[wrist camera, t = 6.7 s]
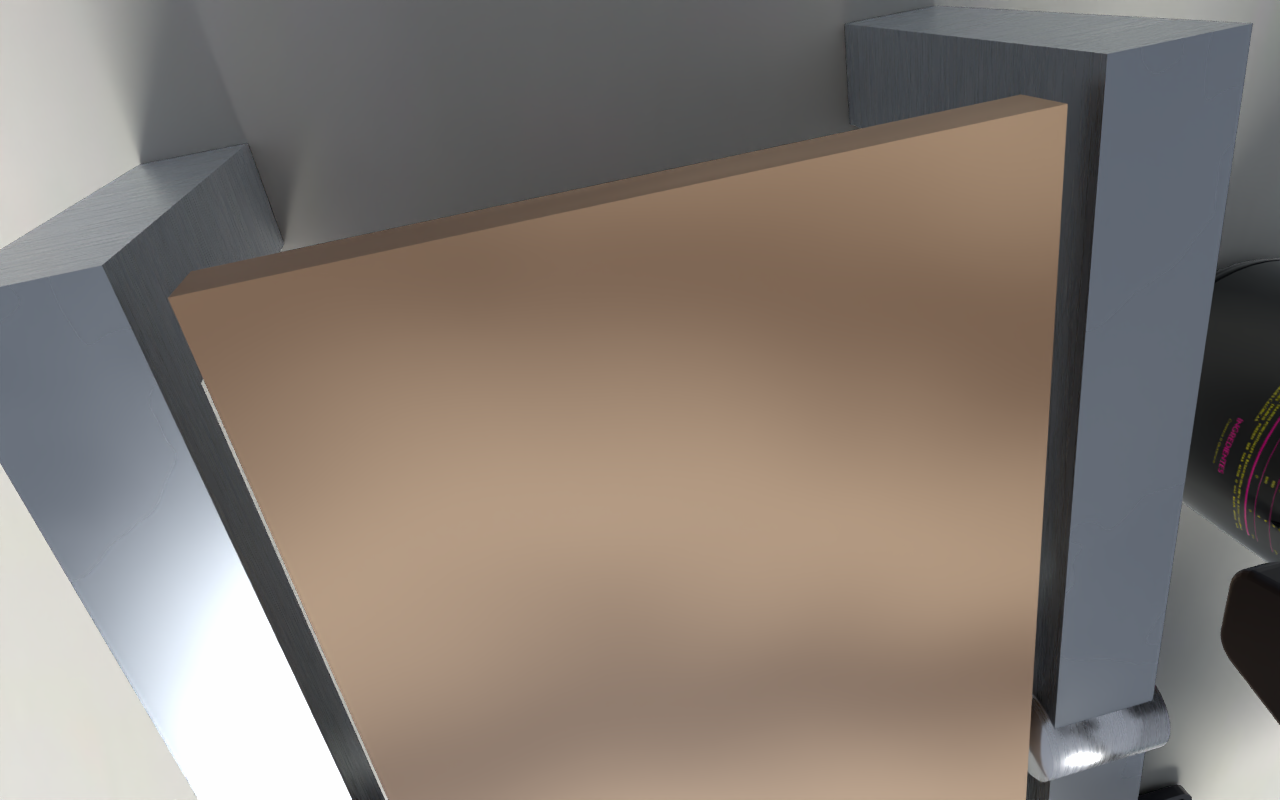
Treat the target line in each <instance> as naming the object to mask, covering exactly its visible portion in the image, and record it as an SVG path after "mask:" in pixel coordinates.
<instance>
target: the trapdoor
mask: <svg viewBox="0 0 1280 800" xmlns="http://www.w3.org/2000/svg"><path fill="white" fill-rule="evenodd" d="M1067 108H1068V104H1066V103H1061V102H1056V101H1051V100H1046V99H1041V98H1037V97H1032V96H1027V95H1022V94H1021V95H1016V96H1011V97H1007V98H1002V99H997V100H993V101H988V102H983V103H979V104H974V105H969V106H965V107H960V108H955V109H950V110H946V111H941V112H936V113H932V114H927V115H922V116H918V117H913V118H908V119H904V120H899V121H894V122H889V123H885V124H880V125H875V126H871V127H866V128H861V129H857V130H852V131H847V132H843V133H838V134H833V135H828V136H824V137H819V138H814V139H810V140H805V141H800V142H796V143H791V144H786V145H782V146H777V147H772V148H768V149H763V150H758V151H753V152H749V153H744V154H739V155H735V156H730V157H725V158H721V159H716V160H711V161H707V162H702V163H697V164H692V165H688V166H683V167H678V168H674V169H669V170H664V171H660V172H655V173H650V174H646V175H641V176H636V177H631V178H627V179H622V180H617V181H613V182H608V183H603V184H599V185H594V186H589V187H585V188H580V189H575V190H571V191H566V192H561V193H556V194H552V195H547V196H542V197H538V198H533V199H528V200H524V201H519V202H514V203H510V204H505V205H500V206H495V207H491V208H486V209H481V210H477V211H472V212H467V213H463V214H458V215H453V216H449V217H444V218H439V219H434V220H430V221H425V222H420V223H416V224H411V225H406V226H402V227H397V228H392V229H388V230H383V231H378V232H373V233H369V234H364V235H359V236H355V237H350V238H345V239H341V240H336V241H331V242H327V243H322V244H317V245H313V246H308V247H303V248H298V249H294V250H289V251H284V252H280V253H275V254H270V255H266V256H261V257H256V258H252V259H247V260H242V261H237V262H233V263H228V264H223V265H219V266H214V267H209V268H205V269H200V270H195V271H191V272H190V273H189V274H188V275H187V276H186V277H185V278H184V280H183V281H182V282H181V283H180V284H179V285H178V287H177V288H176V289H175V290H174V291H173V292H172V294H171V295H170V296H169V297H168V300H169V302H170V304H171V307H172V309H173V311H174V313H175V316H176V318H177V320H178V322H179V325H180V327H181V329H182V332H183V334H184V336H185V338H186V341H187V343H188V345H189V347H190V350H191V352H192V354H193V357H194V359H195V361H196V363H197V366H198V368H199V370H200V373H201V375H202V377H203V379H204V382H205V384H206V386H207V388H208V391H209V393H210V395H211V398H212V400H213V402H214V404H215V407H216V409H217V411H218V413H219V416H220V418H221V420H222V423H223V425H224V427H225V429H226V432H227V434H228V436H229V439H230V441H231V443H232V445H233V448H234V450H235V452H236V454H237V457H238V459H239V461H240V464H241V466H242V468H243V470H244V473H245V475H246V477H247V479H248V482H249V484H250V486H251V489H252V491H253V493H254V495H255V498H256V500H257V502H258V504H259V507H260V509H261V511H262V514H263V516H264V518H265V520H266V523H267V525H268V527H269V530H270V532H271V534H272V536H273V539H274V541H275V543H276V545H277V548H278V550H279V552H280V555H281V557H282V559H283V561H284V564H285V566H286V568H287V570H288V573H289V575H290V577H291V580H292V582H293V584H294V586H295V589H296V591H297V593H298V596H299V598H300V600H301V602H302V605H303V607H304V609H305V611H306V614H307V616H308V618H309V621H310V623H311V625H312V627H313V630H314V632H315V634H316V636H317V639H318V641H319V643H320V646H321V648H322V650H323V652H324V655H325V657H326V659H327V661H328V664H329V666H330V668H331V671H332V673H333V675H334V677H335V680H336V682H337V684H338V687H339V689H340V691H341V693H342V696H343V698H344V700H345V702H346V705H347V707H348V709H349V712H350V714H351V716H352V718H353V721H354V723H355V725H356V727H357V730H358V732H359V734H360V737H361V739H362V741H363V743H364V746H365V748H366V750H367V753H368V755H369V757H370V759H371V762H372V764H373V766H374V768H375V771H376V773H377V775H378V778H379V780H380V782H381V784H382V787H383V789H384V791H385V793H386V796H387V798H388V800H1026V789H1027V772H1028V755H1029V739H1030V722H1031V706H1032V689H1033V672H1034V656H1035V639H1036V623H1037V606H1038V589H1039V573H1040V556H1041V540H1042V523H1043V506H1044V490H1045V473H1046V457H1047V440H1048V423H1049V407H1050V390H1051V374H1052V357H1053V340H1054V324H1055V307H1056V291H1057V274H1058V257H1059V241H1060V224H1061V208H1062V191H1063V174H1064V158H1065V141H1066V125H1067Z"/></svg>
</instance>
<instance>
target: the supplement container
mask: <svg viewBox="0 0 1280 800" xmlns="http://www.w3.org/2000/svg"><path fill="white" fill-rule="evenodd" d="M1182 503H1183V504H1185V505H1186V506H1188V507H1189V508H1191V509H1192V510H1193V511H1195V512H1196V513H1198V514H1199V515H1200V516H1202V517H1203V518H1205V519H1206V520H1207V521H1209V522H1210V523H1212V524H1213V525H1214V526H1216V527H1217V528H1219V529H1220V530H1221V531H1223V532H1224V533H1226V534H1227V535H1228V536H1230V537H1231V538H1233V539H1234V540H1236V541H1237V542H1238V543H1240V544H1241V545H1243V546H1244V547H1245V548H1247V549H1248V550H1250V551H1251V552H1252V553H1254V554H1255V555H1257V556H1258V557H1259V558H1261V559H1262V560H1264V561H1265V562H1266V563H1269V562H1280V258H1271V259H1259V260H1251V261H1246V262H1242V263H1238V264H1235V265H1232V266H1229V267H1226V268H1223V269H1221V270H1218V271H1216V275H1215V282H1214V289H1213V296H1212V302H1211V309H1210V316H1209V323H1208V329H1207V336H1206V343H1205V350H1204V356H1203V363H1202V370H1201V377H1200V383H1199V390H1198V397H1197V404H1196V410H1195V417H1194V424H1193V431H1192V437H1191V444H1190V451H1189V458H1188V464H1187V471H1186V478H1185V485H1184V491H1183V498H1182Z"/></svg>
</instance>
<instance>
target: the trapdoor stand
mask: <svg viewBox="0 0 1280 800" xmlns="http://www.w3.org/2000/svg"><path fill="white" fill-rule="evenodd" d="M1252 25H1253V23H1237V22H1219V21H1201V20H1183V19H1165V18H1147V17H1130V16H1112V15H1094V14H1076V13H1058V12H1040V11H1022V10H1004V9H986V8H968V7H950V6H932V7H927V8H922V9H917V10H912V11H907V12H902V13H897V14H892V15H887V16H882V17H877V18H872V19H867V20H862V21H857V22H852V23H847V24H845V40H846V59H847V79H848V99H849V119H850V124H851V125H854V126H857V127H860V128H866V127H871V126H875V125H880V124H885V123H889V122H894V121H899V120H904V119H908V118H913V117H918V116H922V115H927V114H932V113H936V112H941V111H946V110H950V109H955V108H960V107H965V106H969V105H974V104H979V103H983V102H988V101H993V100H997V99H1002V98H1007V97H1011V96H1016V95H1021V94H1022V95H1027V96H1032V97H1037V98H1041V99H1046V100H1051V101H1056V102H1061V103H1066V104H1068V108H1067V125H1066V141H1065V158H1064V174H1063V191H1062V208H1061V224H1060V241H1059V257H1058V274H1057V291H1056V307H1055V324H1054V340H1053V357H1052V374H1051V390H1050V407H1049V423H1048V440H1047V457H1046V473H1045V490H1044V506H1043V523H1042V540H1041V556H1040V573H1039V589H1038V606H1037V623H1036V639H1035V656H1034V672H1033V689H1032V706H1031V722H1030V739H1029V755H1028V772H1027V789H1026V800H1138V795H1139V789H1140V782H1141V775H1142V768H1143V762H1144V755H1145V752H1146V751H1149V750H1152V749H1156V748H1159V747H1162V746H1164V745H1165V744H1166V743H1167V742H1168V739H1169V736H1170V721H1169V716H1168V712H1167V709H1166V706H1165V703H1164V700H1163V698H1162V696H1161V694H1160V692H1159V690H1158V688H1157V687H1156V685H1155V681H1156V674H1157V667H1158V660H1159V654H1160V647H1161V640H1162V633H1163V627H1164V620H1165V613H1166V606H1167V600H1168V593H1169V586H1170V579H1171V573H1172V566H1173V559H1174V552H1175V545H1176V539H1177V532H1178V525H1179V518H1180V512H1181V505H1182V498H1183V491H1184V485H1185V478H1186V471H1187V464H1188V458H1189V451H1190V444H1191V437H1192V431H1193V424H1194V417H1195V410H1196V404H1197V397H1198V390H1199V383H1200V377H1201V370H1202V363H1203V356H1204V350H1205V343H1206V336H1207V329H1208V323H1209V316H1210V309H1211V302H1212V296H1213V289H1214V282H1215V275H1216V269H1217V262H1218V255H1219V248H1220V242H1221V235H1222V228H1223V221H1224V214H1225V208H1226V201H1227V194H1228V187H1229V181H1230V174H1231V167H1232V160H1233V154H1234V147H1235V140H1236V133H1237V127H1238V120H1239V113H1240V106H1241V100H1242V93H1243V86H1244V79H1245V73H1246V66H1247V59H1248V52H1249V46H1250V39H1251V32H1252ZM283 245H284V242H283V239H282V237H281V234H280V231H279V228H278V226H277V223H276V220H275V217H274V215H273V212H272V209H271V206H270V204H269V201H268V198H267V195H266V193H265V190H264V187H263V184H262V182H261V179H260V176H259V173H258V171H257V168H256V165H255V162H254V159H253V157H252V154H251V151H250V148H249V146H248V143H246V144H241V145H236V146H231V147H226V148H221V149H216V150H211V151H206V152H201V153H196V154H191V155H186V156H181V157H175V158H170V159H165V160H160V161H155V162H150V163H145V164H140V165H138V166H136V167H135V168H133V169H131V170H130V171H128V172H126V173H125V174H123V175H122V176H120V177H118V178H117V179H115V180H113V181H112V182H110V183H109V184H107V185H105V186H104V187H102V188H100V189H99V190H97V191H95V192H94V193H92V194H91V195H89V196H87V197H86V198H84V199H82V200H81V201H79V202H77V203H76V204H74V205H73V206H71V207H69V208H68V209H66V210H64V211H63V212H61V213H59V214H58V215H56V216H55V217H53V218H51V219H50V220H48V221H46V222H45V223H43V224H42V225H40V226H38V227H37V228H35V229H33V230H32V231H30V232H28V233H27V234H25V235H24V236H22V237H20V238H19V239H17V240H15V241H14V242H12V243H10V244H9V245H7V246H6V247H4V248H2V249H1V250H0V463H1V465H2V467H3V468H4V470H5V472H6V474H7V475H8V477H9V479H10V480H11V482H12V484H13V485H14V487H15V489H16V491H17V492H18V494H19V496H20V497H21V499H22V501H23V502H24V504H25V506H26V508H27V509H28V511H29V513H30V514H31V516H32V518H33V519H34V521H35V523H36V525H37V526H38V528H39V530H40V531H41V533H42V535H43V536H44V538H45V540H46V542H47V543H48V545H49V547H50V548H51V550H52V552H53V553H54V555H55V557H56V559H57V560H58V562H59V564H60V565H61V567H62V569H63V570H64V572H65V574H66V576H67V577H68V579H69V581H70V582H71V584H72V586H73V587H74V589H75V591H76V593H77V594H78V596H79V598H80V599H81V601H82V603H83V604H84V606H85V608H86V610H87V611H88V613H89V615H90V616H91V618H92V620H93V621H94V623H95V625H96V627H97V628H98V630H99V632H100V633H101V635H102V637H103V638H104V640H105V642H106V644H107V645H108V647H109V649H110V650H111V652H112V654H113V655H114V657H115V659H116V661H117V662H118V664H119V666H120V667H121V669H122V671H123V672H124V674H125V676H126V678H127V679H128V681H129V683H130V684H131V686H132V688H133V689H134V691H135V693H136V695H137V696H138V698H139V700H140V701H141V703H142V705H143V706H144V708H145V710H146V712H147V713H148V715H149V717H150V718H151V720H152V722H153V723H154V725H155V727H156V729H157V730H158V732H159V734H160V735H161V737H162V739H163V740H164V742H165V744H166V746H167V747H168V749H169V751H170V752H171V754H172V756H173V757H174V759H175V761H176V763H177V764H178V766H179V768H180V769H181V771H182V773H183V774H184V776H185V778H186V780H187V781H188V783H189V785H190V786H191V788H192V790H193V791H194V793H195V795H196V797H197V798H198V800H385V799H384V796H383V794H382V792H381V789H380V787H379V785H378V783H377V780H376V778H375V776H374V774H373V771H372V769H371V767H370V765H369V762H368V760H367V758H366V756H365V753H364V751H363V749H362V746H361V744H360V742H359V740H358V737H357V735H356V733H355V731H354V728H353V726H352V724H351V722H350V719H349V717H348V715H347V713H346V710H345V708H344V706H343V703H342V701H341V699H340V697H339V694H338V692H337V690H336V688H335V685H334V683H333V681H332V679H331V676H330V674H329V672H328V670H327V667H326V665H325V663H324V661H323V658H322V656H321V654H320V651H319V649H318V647H317V645H316V642H315V640H314V638H313V636H312V633H311V631H310V629H309V627H308V624H307V622H306V620H305V618H304V615H303V613H302V611H301V608H300V606H299V604H298V602H297V599H296V597H295V595H294V593H293V590H292V588H291V586H290V584H289V581H288V579H287V577H286V575H285V572H284V570H283V568H282V565H281V563H280V561H279V559H278V556H277V554H276V552H275V550H274V547H273V545H272V543H271V541H270V538H269V536H268V534H267V532H266V529H265V527H264V525H263V522H262V520H261V518H260V516H259V513H258V511H257V509H256V507H255V504H254V502H253V500H252V498H251V495H250V493H249V491H248V489H247V486H246V484H245V482H244V480H243V477H242V475H241V473H240V470H239V468H238V466H237V464H236V461H235V459H234V457H233V455H232V452H231V450H230V448H229V446H228V443H227V441H226V439H225V437H224V434H223V432H222V430H221V427H220V425H219V423H218V421H217V418H216V416H215V414H214V412H213V409H212V407H211V405H210V403H209V400H208V398H207V396H206V394H205V391H204V389H203V387H202V384H201V382H202V380H203V377H202V375H201V373H200V370H199V368H198V366H197V363H196V361H195V359H194V357H193V354H192V352H191V350H190V347H189V345H188V343H187V341H186V338H185V336H184V334H183V332H182V329H181V327H180V325H179V322H178V320H177V318H176V316H175V313H174V311H173V309H172V307H171V304H170V302H169V300H168V297H169V296H170V295H171V294H172V292H173V291H174V290H175V289H176V288H177V287H178V285H179V284H180V283H181V282H182V281H183V280H184V278H185V277H186V276H187V275H188V274H189V273H190V272H191V271H195V270H200V269H205V268H209V267H214V266H219V265H223V264H228V263H233V262H237V261H242V260H247V259H252V258H256V257H261V256H266V255H270V254H275V253H279V252H280V250H281V249H282V247H283Z"/></svg>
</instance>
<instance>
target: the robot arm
mask: <svg viewBox="0 0 1280 800" xmlns="http://www.w3.org/2000/svg"><path fill="white" fill-rule="evenodd" d="M1221 642H1222V645H1223V648H1224V650H1225V652H1226V654H1227V656H1228V658H1229V659H1230V661H1231V662H1232V663H1233V665H1234V666H1235V667H1236V669H1237V670H1238V671H1239V673H1240V674H1241V675H1242V676H1243V678H1244V679H1245V680H1246V682H1247V683H1248V684H1249V686H1250V687H1251V688H1252V689H1253V691H1254V692H1255V693H1256V695H1257V696H1258V697H1259V699H1260V700H1261V701H1262V702H1263V704H1264V705H1265V706H1266V708H1267V709H1268V710H1269V712H1270V713H1271V714H1272V715H1273V717H1274V718H1275V719H1276V721H1277V722H1278V723H1279V724H1280V562H1269V563H1265V564H1261V565H1257V566H1254V567H1250V568H1247V569H1243V570H1241V571H1239V572H1237V573H1236V574H1235V575H1234V576H1233V578H1232V580H1231V583H1230V587H1229V592H1228V597H1227V602H1226V607H1225V612H1224V617H1223V622H1222V627H1221ZM1138 800H1192V797H1191V796H1190V795H1189V794H1188V793H1187V791H1186V790H1185V789H1184V788H1183V787H1182V786H1181V785H1173V786H1170V787H1166V788H1163V789H1160V790H1157V791H1153V792H1150V793H1147V794H1144V795H1140V796H1138Z"/></svg>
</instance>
